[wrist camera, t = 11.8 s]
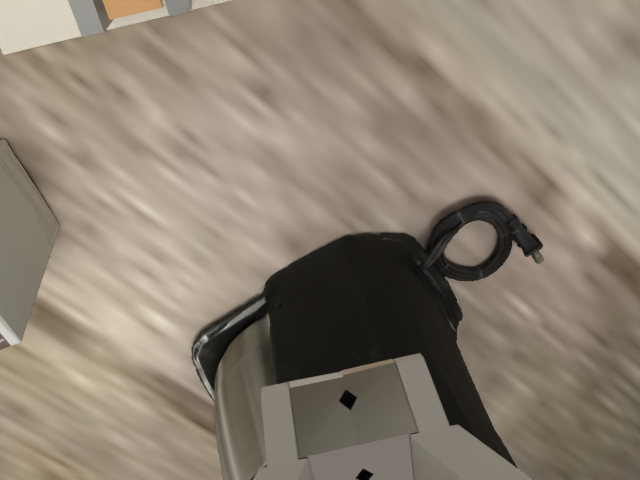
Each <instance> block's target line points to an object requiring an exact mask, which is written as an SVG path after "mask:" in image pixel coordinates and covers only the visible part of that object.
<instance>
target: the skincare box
mask: <svg viewBox="0 0 640 480" xmlns="http://www.w3.org/2000/svg"><path fill="white" fill-rule="evenodd" d="M59 228H60V225H59V224H58V222H57V220H56V219H55V217H54V215H53V214H52V212H51V211H50V209H49V207H48V206H47V204H46V203H45V201H44V199H43V198H42V196H41V195H40V193H39V191H38V190H37V188H36V187H35V185H34V184H33V182H32V180H31V179H30V177H29V176H28V174H27V173H26V171H25V169H24V168H23V166H22V165H21V164H20V162H19V161H18V159H17V158H16V157H15V155H14V153H13V152H12V150H11V148H10V147H9V145H8V143H7V141H6V140H5V139H3V140H0V350H2V349H4V348H7V347H9V346H12V345H15V344H18V343H21V341H22V338H23V335H24V332H25V329H26V326H27V323H28V320H29V317H30V314H31V311H32V308H33V305H34V302H35V298H36V296H37V293H38V290H39V287H40V284H41V281H42V278H43V275H44V272H45V269H46V266H47V263H48V260H49V257H50V254H51V251H52V248H53V245H54V242H55V239H56V236H57V233H58V230H59Z"/></svg>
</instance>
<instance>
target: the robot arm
mask: <svg viewBox="0 0 640 480" xmlns="http://www.w3.org/2000/svg"><path fill="white" fill-rule="evenodd" d="M261 404H262V415H263V426H264V438H265V449H266V461H267V467H264V468H260V469H259V470H258V472H257V473H256V475H255V477H254V479H253V480H532V479H531V478H530V477H528V476H527V475H525V474H524V473H523V472H521V471H520V470H519V469H517V468H516V467H515V466H513V465H512V464H511V463H509V462H508V461H507V460H505V459H504V458H503V457H501V456H500V455H498V454H497V453H496V452H494V451H493V450H492V449H490V448H489V447H488V446H486V445H485V444H484V443H482V442H481V441H480V440H478V439H477V438H475V437H474V436H473V435H471V434H470V433H469V432H467V431H466V430H465V429H463V428H462V427H461V426H459V425H453V426H450V425H449V422H448V420H447V417H446V415H445V412H444V409H443V407H442V404H441V402H440V399H439V396H438V394H437V391H436V389H435V386H434V383H433V381H432V378H431V376H430V373H429V370H428V368H427V365H426V363H425V360H424V357H423V356H422V355H421V354H420V353H419V354H414V355H409V356H405V357H400V358H396V359H394V360H393V359H389V360H385V361H380V362H376V363H372V364H368V365H363V366H359V367H355V368H350V369H346V370H342V371H341V372H336V373H331V374H326V375H321V376H316V377H310V378H305V379H300V380H295V381H290V382H285V383H281V384H276V385H271V386H266V387H262V390H261Z"/></svg>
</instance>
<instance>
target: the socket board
mask: <svg viewBox="0 0 640 480" xmlns="http://www.w3.org/2000/svg"><path fill="white" fill-rule="evenodd" d="M227 1H231V0H162V3H163V8H159V9H154V10H150V11H146V12H142V13H137V14H133V15H129V16H125V17H121V18H116V19H112V20H109V17H108V14H107V12H106V9H105V6H104V3H103V0H0V48H1V50H2V53H3V55H4V54H9V53H13V52H17V51H21V50H25V49H30V48H34V47H38V46H42V45H46V44H51V43H55V42H59V41H63V40H67V39H72V38H76V37H80V36H82V38H83V37H87V36H91V35H95V34H99V33H104V32H105V31H106V30H109V29H114V28H118V27H122V26H126V25H130V24H135V23H139V22H143V21H147V20H151V19H156V18H160V17H164V16H168V15H169V16H170V17H171V16H175V15H179V14H183V13H188V12H191V10H193V9H198V8H202V7H206V6H210V5H214V4H219V3H223V2H227Z"/></svg>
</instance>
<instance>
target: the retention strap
mask: <svg viewBox="0 0 640 480" xmlns="http://www.w3.org/2000/svg"><path fill="white" fill-rule="evenodd" d="M103 3H104V6H105V9H106V12H107V14H108V17H109V20H112V19H116V18H121V17H125V16H129V15H133V14H137V13H142V12H146V11H150V10H154V9H159V8H163V3H162V0H103Z"/></svg>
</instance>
